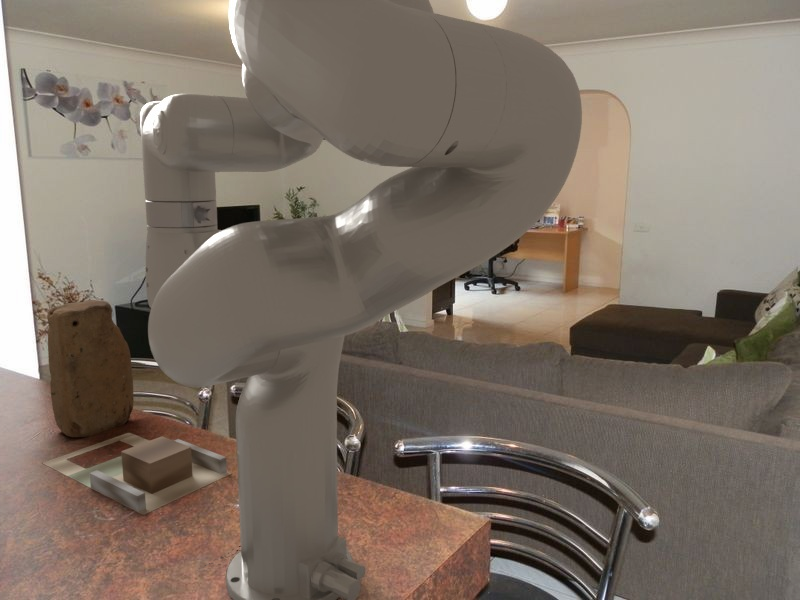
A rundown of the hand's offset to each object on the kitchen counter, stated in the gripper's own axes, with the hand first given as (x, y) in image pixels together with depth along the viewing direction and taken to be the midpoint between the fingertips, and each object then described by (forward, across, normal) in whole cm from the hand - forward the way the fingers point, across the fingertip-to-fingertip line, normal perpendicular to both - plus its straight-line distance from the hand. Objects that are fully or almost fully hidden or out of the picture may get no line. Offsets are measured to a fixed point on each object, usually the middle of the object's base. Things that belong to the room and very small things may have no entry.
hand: (190, 373), depth 78 cm
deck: (+17, +13, 0) cm, 21 cm away
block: (+17, +32, -6) cm, 37 cm away
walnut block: (+16, +8, 0) cm, 17 cm away
